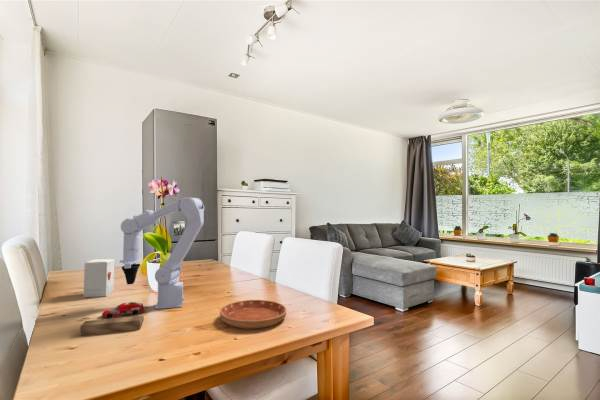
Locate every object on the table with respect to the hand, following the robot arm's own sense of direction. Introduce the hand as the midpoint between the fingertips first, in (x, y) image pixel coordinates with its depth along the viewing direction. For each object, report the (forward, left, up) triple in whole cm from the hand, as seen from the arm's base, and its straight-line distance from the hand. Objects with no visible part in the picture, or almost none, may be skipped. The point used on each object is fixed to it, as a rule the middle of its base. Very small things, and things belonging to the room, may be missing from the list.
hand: (130, 283), depth 122 cm
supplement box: (+16, -20, -9) cm, 27 cm away
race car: (0, +11, -9) cm, 14 cm away
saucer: (-44, +29, -9) cm, 53 cm away
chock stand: (0, +24, -8) cm, 26 cm away
